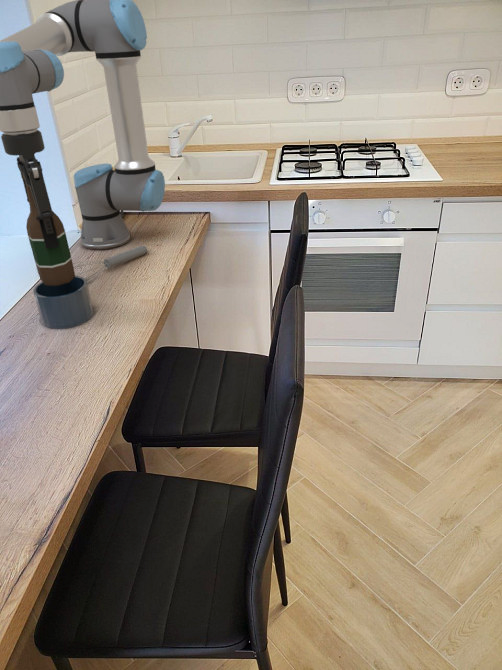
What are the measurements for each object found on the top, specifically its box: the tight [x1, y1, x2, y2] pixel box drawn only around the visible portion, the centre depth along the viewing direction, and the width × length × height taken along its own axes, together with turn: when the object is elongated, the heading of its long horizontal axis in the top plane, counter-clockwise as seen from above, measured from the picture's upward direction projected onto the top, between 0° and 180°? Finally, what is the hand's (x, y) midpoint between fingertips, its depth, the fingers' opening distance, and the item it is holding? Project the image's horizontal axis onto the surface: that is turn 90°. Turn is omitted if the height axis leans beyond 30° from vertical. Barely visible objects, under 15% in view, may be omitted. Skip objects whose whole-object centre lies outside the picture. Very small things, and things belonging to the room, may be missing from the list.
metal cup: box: [32, 275, 94, 330], centre depth 123 cm, size 12×12×8 cm
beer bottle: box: [22, 175, 76, 286], centre depth 114 cm, size 8×8×24 cm
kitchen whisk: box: [72, 244, 151, 284], centre depth 145 cm, size 6×34×6 cm, turn 146°
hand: (48, 241), depth 115 cm, fingers closed on beer bottle, 7 cm apart
